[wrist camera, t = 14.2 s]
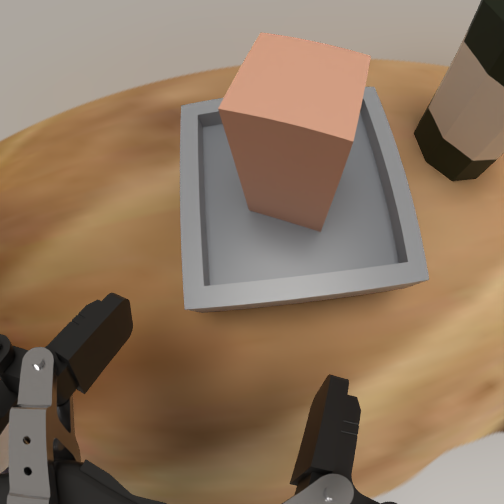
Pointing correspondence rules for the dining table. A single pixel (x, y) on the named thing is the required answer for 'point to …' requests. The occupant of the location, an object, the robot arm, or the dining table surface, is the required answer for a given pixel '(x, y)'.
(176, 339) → the dining table surface
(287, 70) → the terracotta block
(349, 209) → the grey square tray
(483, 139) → the wine bottle
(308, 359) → the dining table surface
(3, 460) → the cup
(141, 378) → the dining table surface
